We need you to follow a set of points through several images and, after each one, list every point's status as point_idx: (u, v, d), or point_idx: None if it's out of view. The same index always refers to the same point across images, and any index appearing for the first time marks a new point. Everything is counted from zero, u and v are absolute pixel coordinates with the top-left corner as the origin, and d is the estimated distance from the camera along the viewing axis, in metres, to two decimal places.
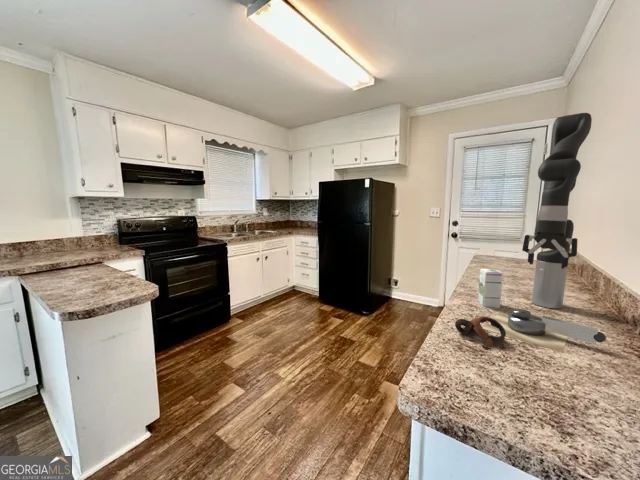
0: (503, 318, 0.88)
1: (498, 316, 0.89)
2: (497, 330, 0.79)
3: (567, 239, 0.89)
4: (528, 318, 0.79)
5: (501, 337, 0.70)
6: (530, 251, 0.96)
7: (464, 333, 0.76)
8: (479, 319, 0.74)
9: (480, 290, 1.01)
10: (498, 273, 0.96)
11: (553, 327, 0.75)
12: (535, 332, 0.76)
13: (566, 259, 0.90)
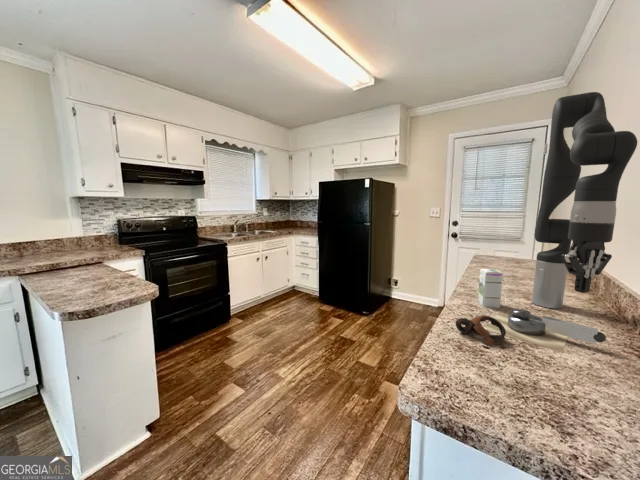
0: (503, 318, 0.88)
1: (498, 316, 0.89)
2: (497, 330, 0.79)
3: None
4: (528, 318, 0.79)
5: (501, 336, 0.71)
6: None
7: (464, 332, 0.76)
8: (479, 318, 0.75)
9: (480, 290, 1.01)
10: (498, 273, 0.96)
11: (553, 327, 0.75)
12: (535, 332, 0.76)
13: None
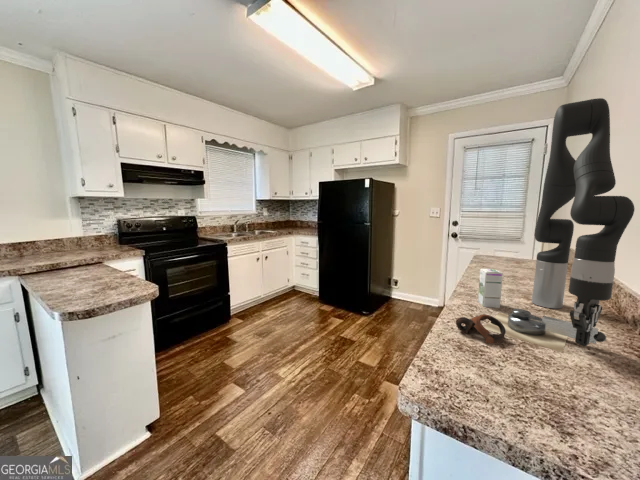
0: (503, 318, 0.88)
1: (498, 316, 0.89)
2: (497, 330, 0.79)
3: None
4: (528, 318, 0.79)
5: (501, 335, 0.71)
6: None
7: (465, 331, 0.77)
8: (479, 317, 0.75)
9: (480, 290, 1.01)
10: (498, 273, 0.96)
11: (553, 327, 0.75)
12: (536, 332, 0.76)
13: None
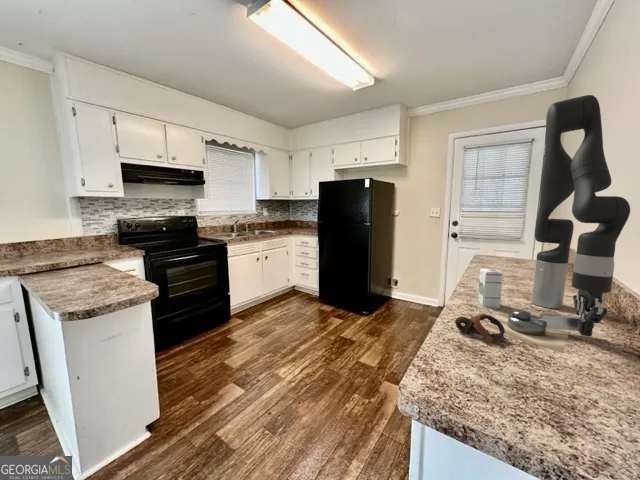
0: (503, 318, 0.88)
1: (498, 316, 0.89)
2: (497, 330, 0.79)
3: (595, 303, 0.69)
4: (530, 318, 0.79)
5: (500, 334, 0.72)
6: (579, 316, 0.74)
7: (464, 331, 0.77)
8: (479, 317, 0.75)
9: (480, 290, 1.01)
10: (498, 273, 0.96)
11: (553, 323, 0.77)
12: (543, 332, 0.76)
13: (584, 324, 0.73)
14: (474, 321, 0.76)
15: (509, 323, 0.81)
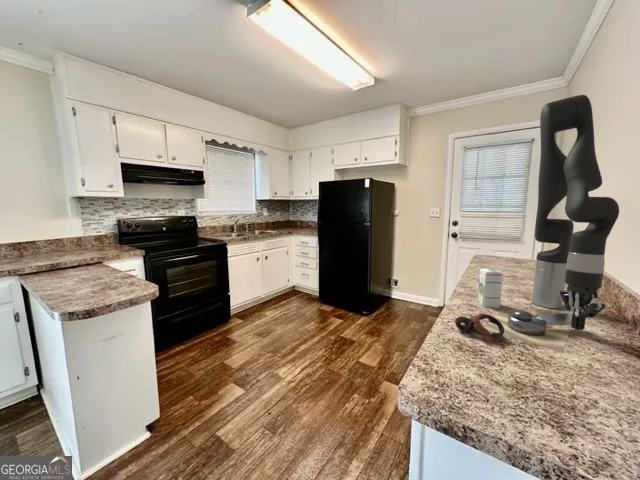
0: (503, 318, 0.88)
1: (498, 316, 0.89)
2: (497, 330, 0.79)
3: (592, 299, 0.72)
4: None
5: (500, 333, 0.72)
6: (571, 311, 0.78)
7: (464, 330, 0.78)
8: (478, 316, 0.76)
9: (480, 290, 1.01)
10: (498, 273, 0.96)
11: (549, 320, 0.79)
12: (545, 331, 0.77)
13: (578, 319, 0.76)
14: (474, 321, 0.76)
15: (512, 325, 0.79)
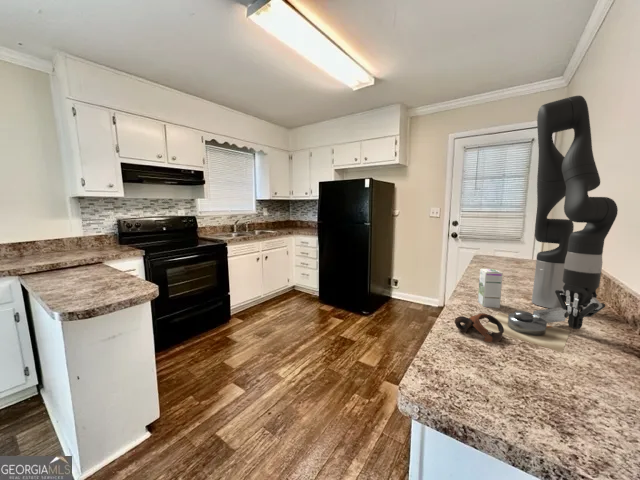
0: (503, 318, 0.88)
1: (498, 316, 0.89)
2: (497, 330, 0.79)
3: (592, 299, 0.73)
4: None
5: (500, 333, 0.72)
6: (568, 311, 0.78)
7: (464, 330, 0.78)
8: (478, 316, 0.76)
9: (480, 290, 1.01)
10: (498, 273, 0.96)
11: (545, 318, 0.81)
12: (545, 329, 0.77)
13: (576, 318, 0.77)
14: (474, 320, 0.76)
15: (515, 326, 0.79)
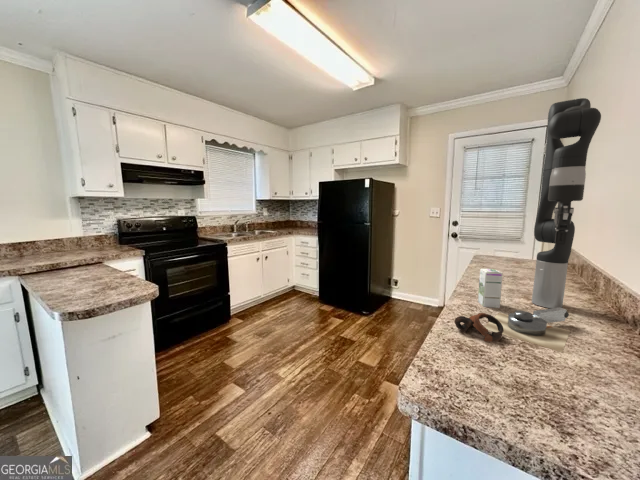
0: (503, 318, 0.88)
1: (498, 316, 0.89)
2: (497, 330, 0.79)
3: (563, 210, 0.75)
4: None
5: (500, 332, 0.73)
6: (555, 228, 0.81)
7: (463, 330, 0.78)
8: (478, 316, 0.76)
9: (480, 290, 1.01)
10: (498, 273, 0.96)
11: (545, 318, 0.81)
12: (545, 329, 0.77)
13: (558, 233, 0.79)
14: (473, 320, 0.76)
15: (515, 326, 0.79)
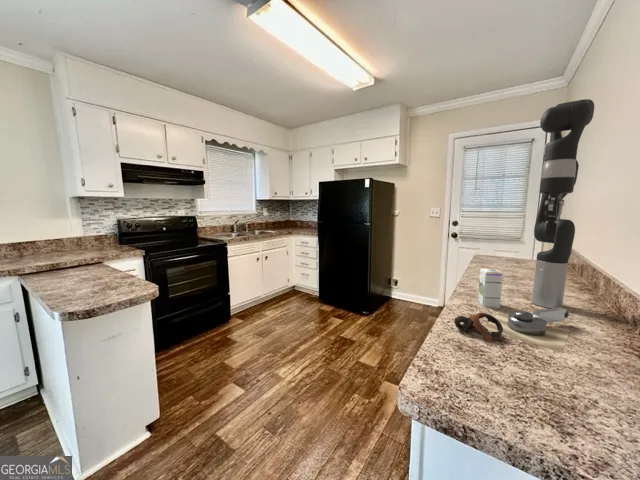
0: (503, 318, 0.88)
1: (498, 316, 0.89)
2: (497, 330, 0.79)
3: (550, 202, 0.78)
4: None
5: (499, 332, 0.73)
6: None
7: (463, 329, 0.78)
8: (478, 315, 0.76)
9: (480, 290, 1.01)
10: (498, 273, 0.96)
11: (545, 318, 0.81)
12: (545, 329, 0.77)
13: None
14: (473, 320, 0.76)
15: (515, 326, 0.79)
